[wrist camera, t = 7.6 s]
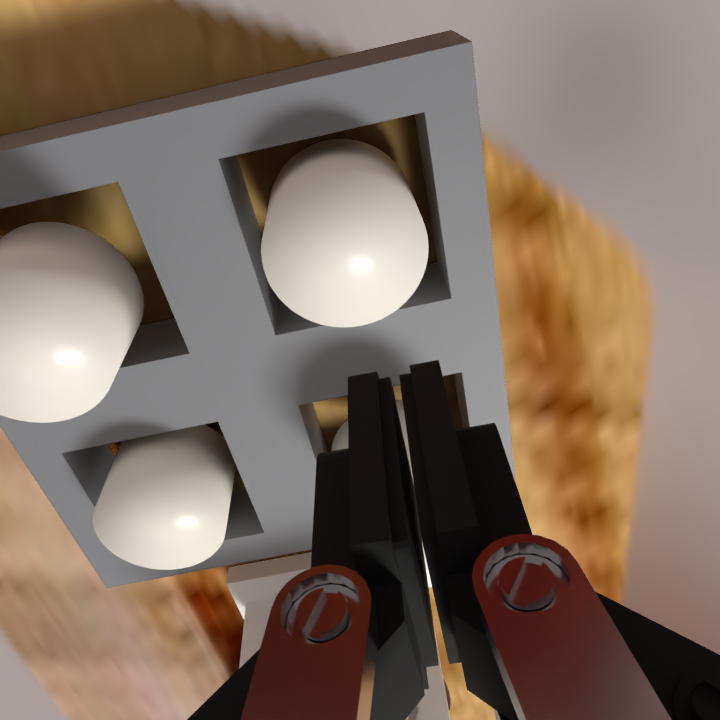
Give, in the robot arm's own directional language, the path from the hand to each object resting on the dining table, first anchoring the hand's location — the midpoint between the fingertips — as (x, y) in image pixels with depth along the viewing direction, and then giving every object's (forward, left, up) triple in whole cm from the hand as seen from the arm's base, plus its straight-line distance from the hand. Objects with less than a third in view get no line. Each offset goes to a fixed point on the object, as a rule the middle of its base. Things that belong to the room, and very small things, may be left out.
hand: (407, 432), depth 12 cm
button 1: (+1, 0, -11) cm, 11 cm away
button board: (+5, +4, -13) cm, 14 cm away
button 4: (+10, +9, -11) cm, 17 cm away
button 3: (+10, 0, -10) cm, 14 cm away
